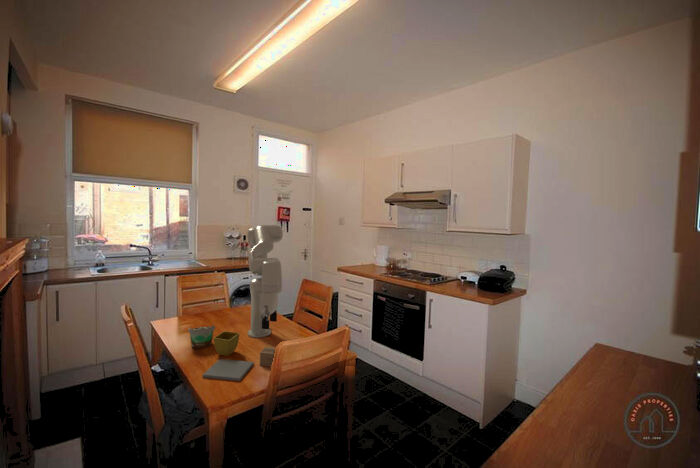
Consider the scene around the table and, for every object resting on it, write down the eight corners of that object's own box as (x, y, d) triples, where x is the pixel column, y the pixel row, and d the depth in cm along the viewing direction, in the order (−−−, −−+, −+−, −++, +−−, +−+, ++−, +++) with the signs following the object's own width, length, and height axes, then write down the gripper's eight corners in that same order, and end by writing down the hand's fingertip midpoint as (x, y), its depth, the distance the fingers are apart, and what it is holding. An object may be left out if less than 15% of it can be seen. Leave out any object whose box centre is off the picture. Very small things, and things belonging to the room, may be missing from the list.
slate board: (220, 361, 145) (220, 358, 145) (253, 364, 143) (253, 361, 143) (202, 377, 131) (202, 374, 131) (239, 381, 129) (239, 378, 129)
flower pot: (229, 358, 148) (229, 340, 147) (212, 356, 149) (212, 337, 149) (239, 350, 156) (239, 333, 155) (223, 348, 158) (224, 330, 157)
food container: (188, 351, 153) (188, 331, 152) (188, 346, 158) (188, 327, 157) (215, 347, 158) (216, 328, 158) (214, 342, 164) (215, 324, 163)
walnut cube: (264, 359, 149) (265, 346, 148) (277, 360, 148) (277, 348, 148) (259, 365, 143) (260, 352, 142) (272, 366, 142) (273, 353, 142)
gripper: (269, 283, 151) (268, 318, 153) (254, 292, 134) (253, 331, 136) (284, 284, 151) (283, 319, 152) (271, 293, 134) (270, 332, 135)
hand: (269, 324), depth 144 cm, fingers open, 9 cm apart
